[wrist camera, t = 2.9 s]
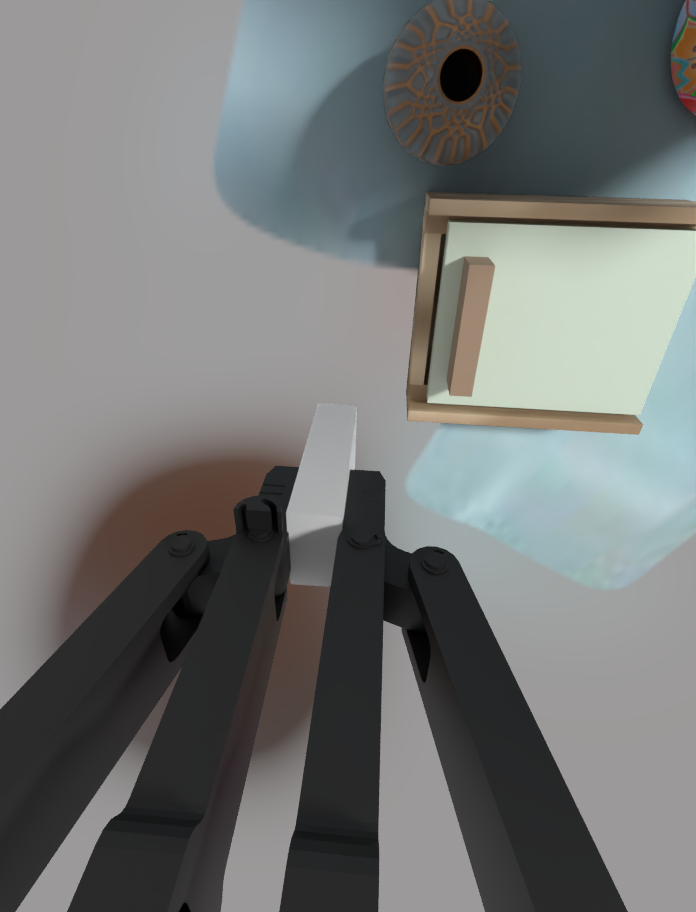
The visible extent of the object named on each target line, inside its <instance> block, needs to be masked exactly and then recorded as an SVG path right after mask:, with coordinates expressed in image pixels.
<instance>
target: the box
mask: <svg viewBox="0 0 696 912" xmlns="http://www.w3.org/2000/svg"><path fill="white" fill-rule="evenodd" d="M448 219H451V220H480V221H508V222H536V223H564V224H592V225H620V226H648V227H676V228H696V202H694V201H689V200H670V199H639V198H608V197H578V196H547V195H516V194H485V193H454V192H426V196H425V206H424V216H423V227H422V237H421V247H420V257H419V267H418V279H417V289H416V299H415V308H414V318H413V330H412V339H411V350H410V360H409V370H408V381H407V390H406V396H407V420H408V421H421V422H437V423H454V424H471V425H487V426H504V427H521V428H537V429H554V430H571V431H587V432H604V433H620V434H637V435H639V433H640V431H641V428H642V426H643V424H642V423H641V422H640V421H639V419H638V418H637V417H636V416H635V415H628V414H611V413H594V412H576V411H559V410H542V409H525V408H507V407H490V406H473V405H455V404H438V403H427V396H426V395H427V387H428V379H429V371H430V362H431V354H432V346H433V338H434V330H435V322H436V314H437V306H438V298H439V290H440V282H441V274H442V266H443V257H444V249H445V241H446V233H447V225H448Z"/></svg>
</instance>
